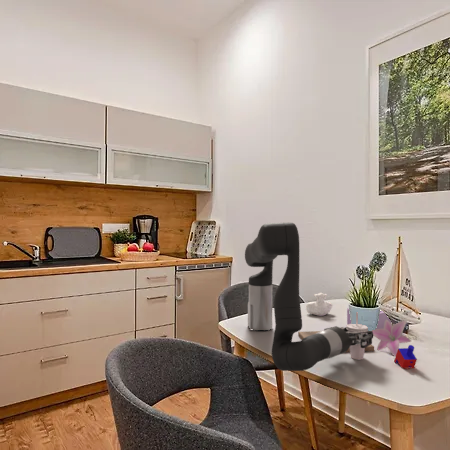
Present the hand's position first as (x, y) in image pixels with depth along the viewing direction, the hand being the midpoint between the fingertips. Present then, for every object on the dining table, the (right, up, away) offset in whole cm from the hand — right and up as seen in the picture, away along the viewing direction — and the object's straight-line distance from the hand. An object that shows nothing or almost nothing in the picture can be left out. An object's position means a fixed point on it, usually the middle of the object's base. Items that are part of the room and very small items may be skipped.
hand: (361, 331), depth 120 cm
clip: (+17, -7, +33) cm, 38 cm away
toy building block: (+10, -8, -8) cm, 15 cm away
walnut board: (-5, -7, +12) cm, 15 cm away
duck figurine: (0, -7, +51) cm, 51 cm away
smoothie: (-2, -8, -1) cm, 8 cm away
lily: (+11, -8, +5) cm, 15 cm away
